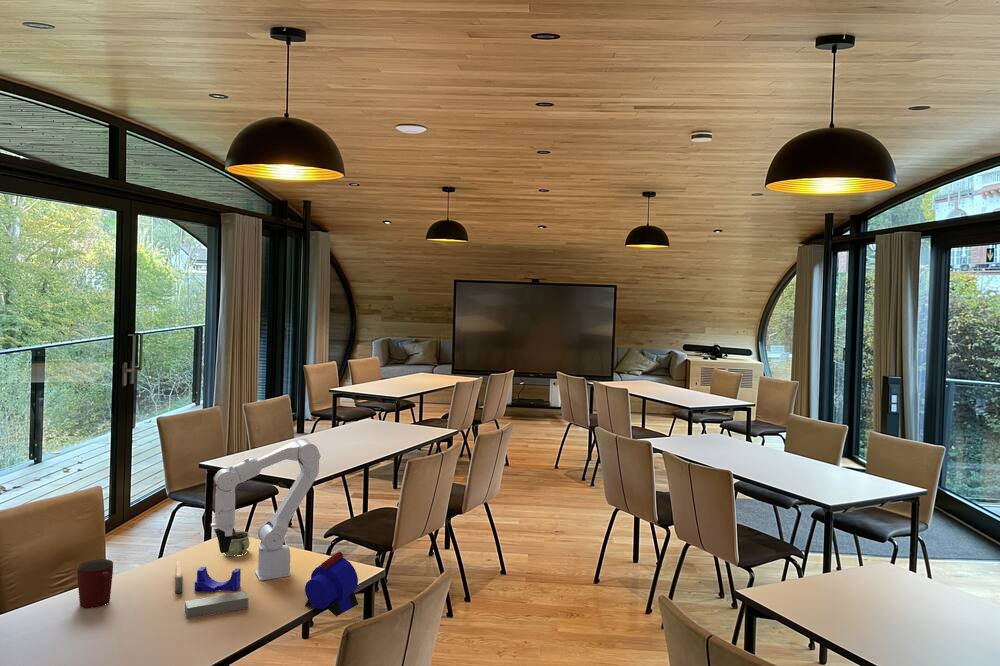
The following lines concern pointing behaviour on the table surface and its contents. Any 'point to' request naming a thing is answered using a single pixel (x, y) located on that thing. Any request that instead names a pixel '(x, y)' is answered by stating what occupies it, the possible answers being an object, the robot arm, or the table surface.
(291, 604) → the table surface
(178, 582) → the bar
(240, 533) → the vessel
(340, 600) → the blue electric motor
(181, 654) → the table surface
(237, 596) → the grey rectangular block
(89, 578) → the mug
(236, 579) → the blue pipe saddle
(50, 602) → the table surface
